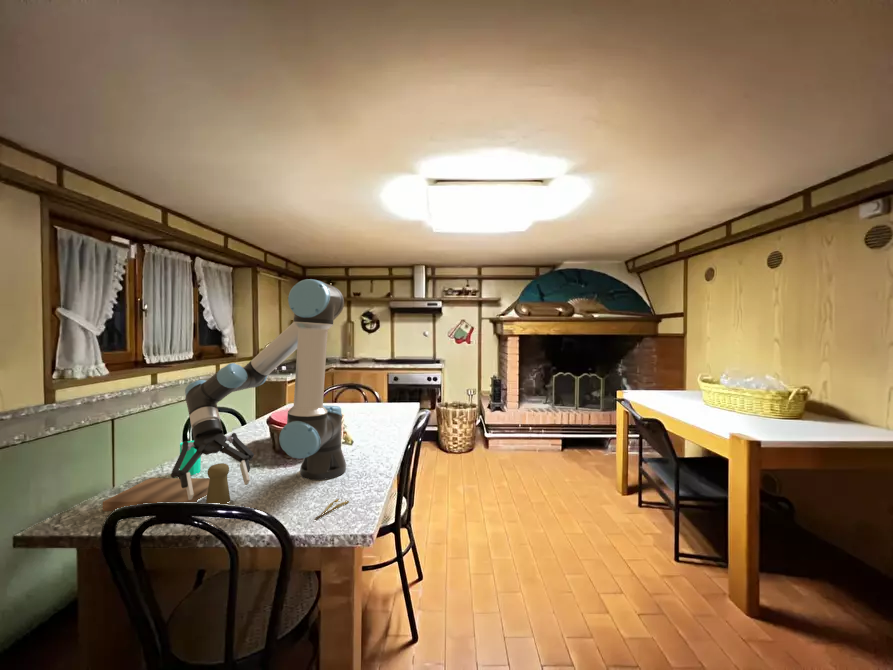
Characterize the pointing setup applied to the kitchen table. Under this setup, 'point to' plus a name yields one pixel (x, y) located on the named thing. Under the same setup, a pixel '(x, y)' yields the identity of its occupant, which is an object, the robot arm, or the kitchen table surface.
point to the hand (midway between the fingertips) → (220, 489)
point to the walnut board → (157, 492)
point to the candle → (197, 466)
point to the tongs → (332, 508)
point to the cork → (218, 484)
